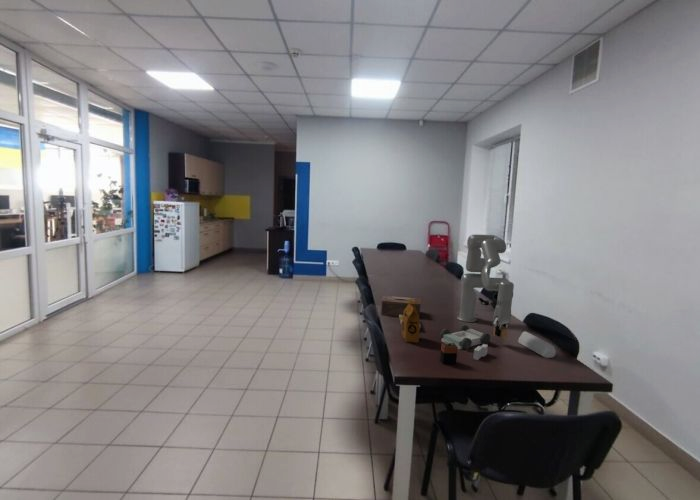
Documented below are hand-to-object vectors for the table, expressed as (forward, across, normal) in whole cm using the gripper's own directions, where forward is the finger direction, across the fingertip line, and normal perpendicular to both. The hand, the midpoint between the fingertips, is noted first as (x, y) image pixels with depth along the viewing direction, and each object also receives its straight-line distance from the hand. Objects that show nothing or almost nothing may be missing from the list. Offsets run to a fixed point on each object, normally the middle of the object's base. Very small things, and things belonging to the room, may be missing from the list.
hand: (500, 334), depth 210 cm
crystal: (+6, -13, +14) cm, 20 cm away
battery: (+6, +44, +3) cm, 45 cm away
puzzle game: (+7, +25, -47) cm, 54 cm away
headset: (+8, -61, -47) cm, 78 cm away
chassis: (+6, +14, -12) cm, 20 cm away
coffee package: (+6, +40, -29) cm, 50 cm away
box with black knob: (+1, 0, 0) cm, 1 cm away
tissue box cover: (+8, +13, -69) cm, 71 cm away
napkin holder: (+6, +23, +6) cm, 24 cm away
